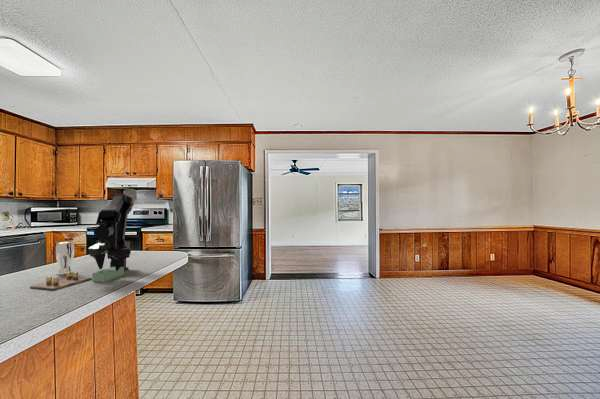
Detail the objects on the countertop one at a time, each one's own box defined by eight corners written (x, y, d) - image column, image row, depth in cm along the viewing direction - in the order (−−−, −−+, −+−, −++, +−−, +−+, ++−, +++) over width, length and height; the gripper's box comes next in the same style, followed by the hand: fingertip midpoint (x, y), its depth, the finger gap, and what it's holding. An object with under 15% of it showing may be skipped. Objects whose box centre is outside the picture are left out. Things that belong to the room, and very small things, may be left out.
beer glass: (77, 271, 138) (78, 241, 138) (64, 275, 131) (65, 243, 131) (65, 271, 139) (65, 241, 139) (51, 274, 132) (51, 243, 132)
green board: (113, 274, 134) (113, 266, 134) (123, 275, 134) (123, 267, 134) (92, 282, 122) (92, 273, 122) (103, 282, 122) (103, 273, 122)
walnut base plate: (70, 277, 128) (70, 269, 128) (91, 279, 125) (91, 271, 125) (30, 288, 112) (30, 278, 112) (53, 290, 110) (53, 281, 110)
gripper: (75, 237, 122) (75, 272, 122) (110, 239, 118) (110, 275, 118) (99, 234, 133) (98, 266, 133) (131, 236, 129) (131, 269, 129)
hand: (108, 269), depth 128 cm, fingers open, 9 cm apart
